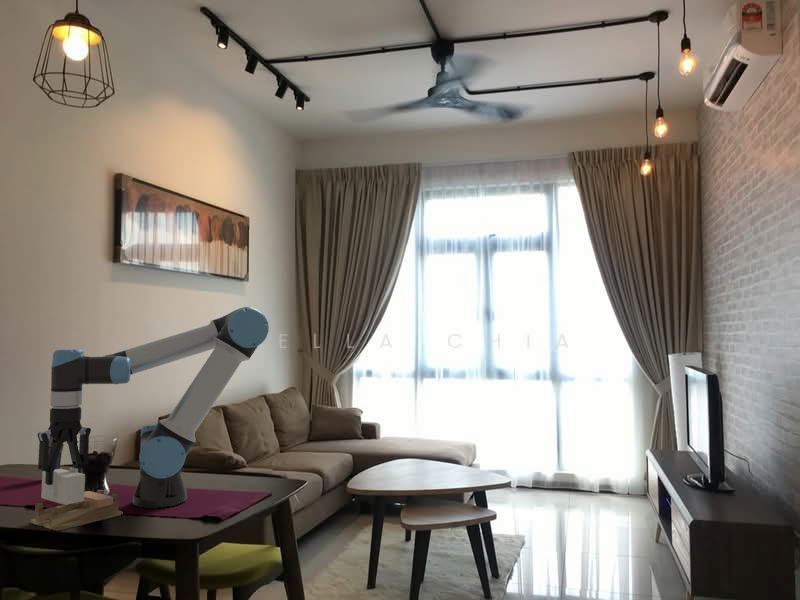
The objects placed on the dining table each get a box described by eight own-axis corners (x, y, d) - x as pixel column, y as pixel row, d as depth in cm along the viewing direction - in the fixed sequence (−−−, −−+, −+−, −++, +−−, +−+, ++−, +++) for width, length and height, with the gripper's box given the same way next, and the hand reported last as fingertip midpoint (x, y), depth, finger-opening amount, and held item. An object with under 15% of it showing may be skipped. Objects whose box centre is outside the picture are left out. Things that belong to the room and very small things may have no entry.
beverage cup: (48, 477, 225) (50, 419, 226) (67, 477, 224) (69, 419, 225) (33, 481, 218) (35, 422, 219) (53, 482, 217) (55, 422, 218)
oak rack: (122, 514, 179) (123, 495, 180) (57, 531, 164) (57, 509, 164) (95, 507, 187) (96, 488, 187) (30, 522, 171) (31, 502, 171)
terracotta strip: (113, 504, 178) (113, 496, 178) (98, 507, 174) (98, 500, 174) (88, 498, 184) (88, 490, 184) (73, 501, 180) (73, 494, 181)
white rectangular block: (84, 501, 171) (84, 474, 171) (65, 505, 167) (66, 477, 167) (59, 494, 177) (60, 468, 178) (41, 498, 173) (42, 471, 174)
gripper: (89, 403, 183) (86, 486, 182) (24, 408, 168) (20, 499, 167) (105, 404, 179) (102, 489, 178) (39, 410, 164) (35, 503, 162)
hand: (62, 494), depth 172 cm, fingers closed on white rectangular block, 5 cm apart
